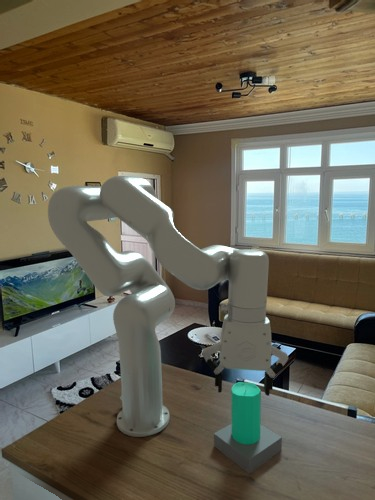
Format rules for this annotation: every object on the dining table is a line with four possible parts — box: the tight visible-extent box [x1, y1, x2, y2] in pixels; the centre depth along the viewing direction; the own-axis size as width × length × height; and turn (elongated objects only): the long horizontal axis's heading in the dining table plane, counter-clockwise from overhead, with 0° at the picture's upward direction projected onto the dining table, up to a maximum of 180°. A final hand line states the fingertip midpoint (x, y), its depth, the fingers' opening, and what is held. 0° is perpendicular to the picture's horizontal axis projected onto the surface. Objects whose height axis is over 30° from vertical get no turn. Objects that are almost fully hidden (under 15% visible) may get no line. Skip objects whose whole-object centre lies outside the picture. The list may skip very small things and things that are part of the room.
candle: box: [230, 381, 262, 444], centre depth 75 cm, size 6×6×12 cm
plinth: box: [213, 422, 283, 474], centre depth 76 cm, size 10×10×3 cm
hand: (243, 390), depth 75 cm, fingers open, 9 cm apart
